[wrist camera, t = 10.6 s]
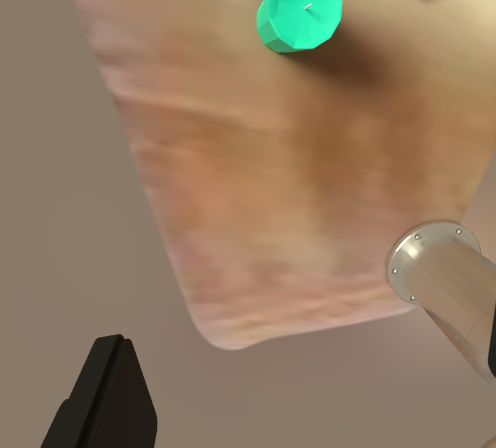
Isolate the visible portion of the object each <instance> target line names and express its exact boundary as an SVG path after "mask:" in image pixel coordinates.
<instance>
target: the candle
mask: <svg viewBox="0 0 496 448" xmlns="http://www.w3.org/2000/svg"><path fill="white" fill-rule="evenodd" d="M341 14H342V0H263V2H262V4H261V6H260V8H259V10H258V12H257V31H258V33H259V35H260V37H261V39H262V41H263V43H264V45H266V46H267V47H269V48H270V49H272V50H274V51H275V52H296V51H302V50H308V49H314V48H315V47H317V46H318V45H320V44H322V43H323V42H325V41H326V40H328V39H329V38H331V36H332V34H333V33H334V31H335V29H336V27H337V26H338V24H339V22H340V20H341Z"/></svg>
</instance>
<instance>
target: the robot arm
mask: <svg viewBox="0 0 496 448" xmlns="http://www.w3.org/2000/svg"><path fill="white" fill-rule="evenodd" d="M386 275H387V279H388V282H389V284H390V286H391V288H392V289H393V291H394V292H395V293H396V294H397V295H398V296H399V297H400V298H401V299H403V300H405V301H406V302H409V303H412V304H416V305H421V306H422V307H423V308H424V310H425V311H426V312H427V313H428V315H429V316H430V317H431V318H432V320H433V321H434V322H435V323H436V324H437V325H438V327H439V328H440V329H441V330H442V332H443V333H444V334H445V335H446V336H447V338H448V339H449V340H450V341H451V342H452V344H453V345H454V346H455V347H456V348H457V349H458V351H459V352H460V353H461V354H462V355H463V357H464V358H465V359H466V360H467V361H468V363H469V364H470V365H471V366H472V368H473V369H474V370H475V371H476V372H477V373H478V374H479V376H480V377H481V378H482V379H484V380H485V381H486V382H488V383H489V384H490V385H492V386H493V387H495V388H496V265H495V264H494V263H492V262H491V261H490V260H488V259H487V258H485V257H484V256H483V255H481V250H480V245H479V242H478V240H477V238H476V237H475V236H474V234H473V233H471V232H470V231H469V230H468V229H467V228H465V227H464V226H462V225H460V224H458V223H455V222H451V221H433V222H428V223H425V224H422V225H420V226H417V227H416V228H414V229H412V230H411V231H409V232H408V233H407V234H405V235H404V236H403V237H402V238H401V239H400V240H399V241H398V242H397V243H396V245H395V246H394V248H393V249H392V251H391V253H390V255H389V258H388V261H387V266H386ZM156 433H157V416H156V412H155V409H154V406H153V403H152V400H151V397H150V394H149V391H148V389H147V386H146V382H145V379H144V376H143V373H142V371H141V368H140V364H139V362H138V359H137V356H136V353H135V350H134V347H133V344H132V341H131V340H130V339H124V337H123V336H122V335H121V334H117V335H111V336H106V337H99V338H97V339H96V340H95V342H94V344H93V346H92V348H91V350H90V353H89V355H88V357H87V359H86V362H85V364H84V366H83V368H82V370H81V373H80V375H79V377H78V379H77V382H76V384H75V386H74V388H73V391H72V393H71V395H70V397H69V399H66V400H65V401H64V402H63V403H62V404H61V406H60V407H59V410H58V411H57V413H56V416H55V418H54V420H53V422H52V424H51V426H50V428H49V431H48V433H47V435H46V437H45V439H44V441H43V443H42V446H41V448H154V444H155V439H156ZM479 448H496V434H495V435H494V436H493V437H491V438H490V439H489V440H488V441H486V442H485V443H484V444H483V445H482V446H481V447H479Z"/></svg>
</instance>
